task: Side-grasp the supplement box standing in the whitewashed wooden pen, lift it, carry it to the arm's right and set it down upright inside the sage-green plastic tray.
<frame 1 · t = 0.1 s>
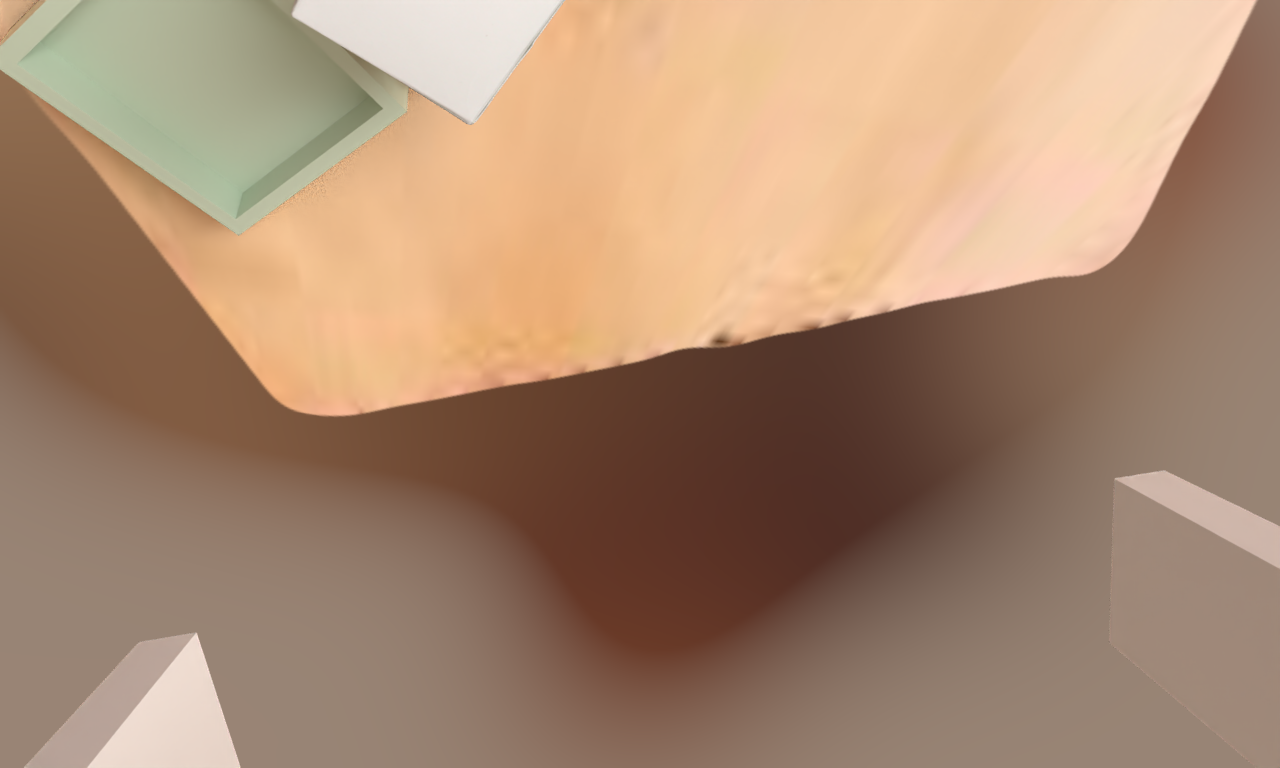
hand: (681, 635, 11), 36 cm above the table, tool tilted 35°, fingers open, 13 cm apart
green tray: (222, 56, 39), on the table
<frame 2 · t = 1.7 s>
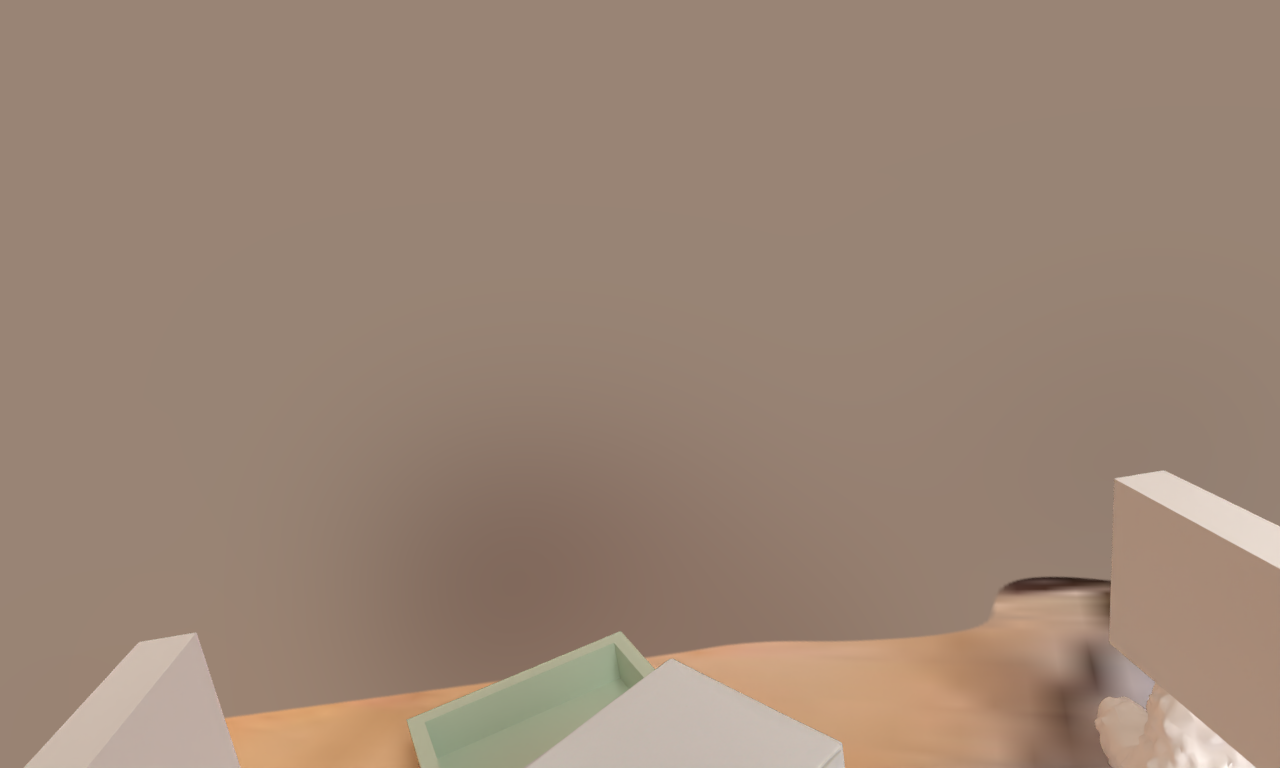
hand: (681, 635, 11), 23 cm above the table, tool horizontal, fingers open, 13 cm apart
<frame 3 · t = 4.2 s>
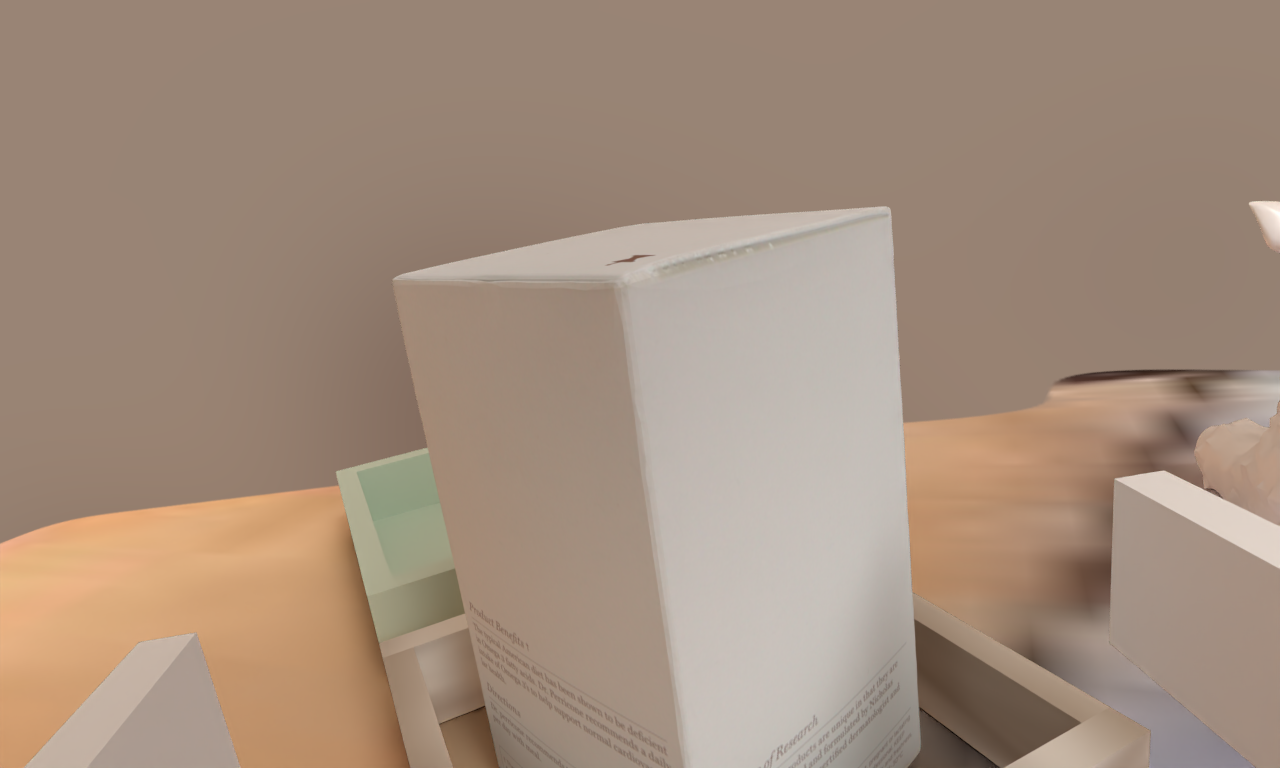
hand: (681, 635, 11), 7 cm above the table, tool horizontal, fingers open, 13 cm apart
green tray: (528, 543, 31), on the table
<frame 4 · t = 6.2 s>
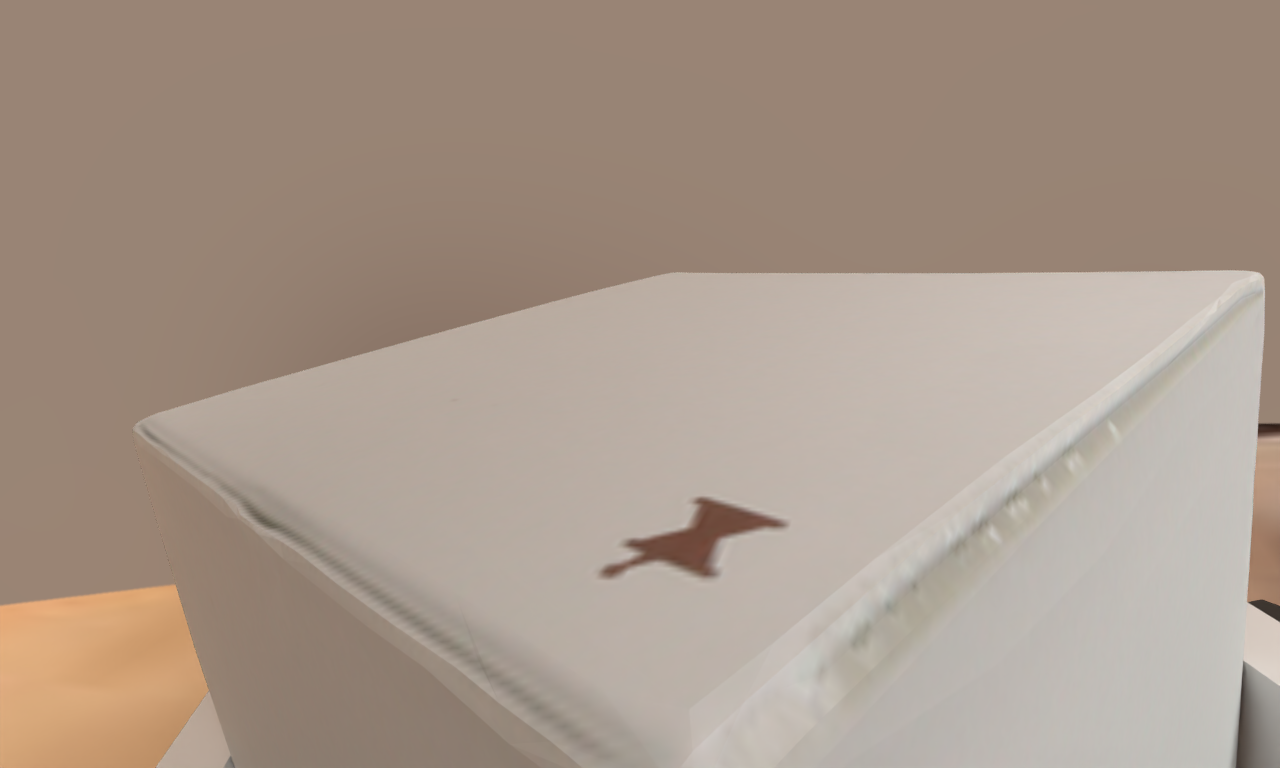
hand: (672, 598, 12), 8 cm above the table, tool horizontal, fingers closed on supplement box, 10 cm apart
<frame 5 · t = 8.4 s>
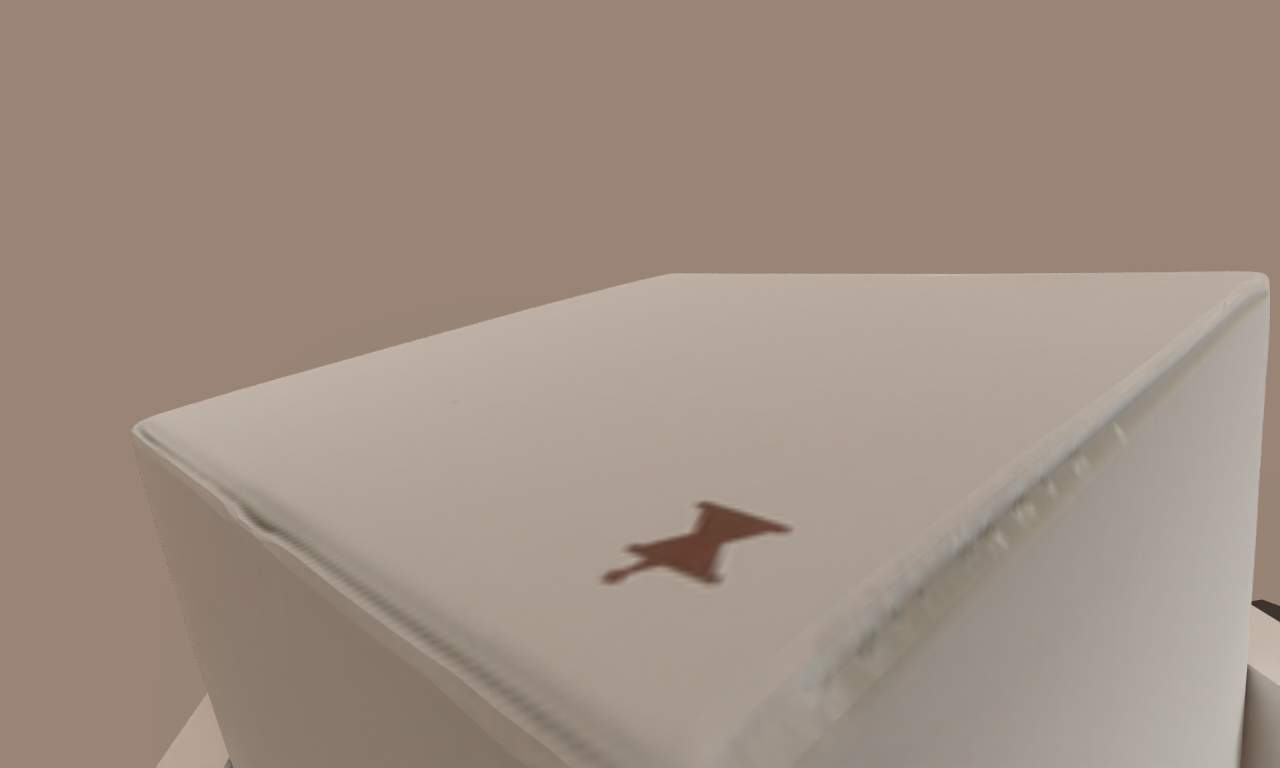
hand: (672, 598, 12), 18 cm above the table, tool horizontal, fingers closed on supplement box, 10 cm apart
when the fingers open (10 cm above the table, at t = 10.7 s): supplement box drops 1 cm, resting on green tray.
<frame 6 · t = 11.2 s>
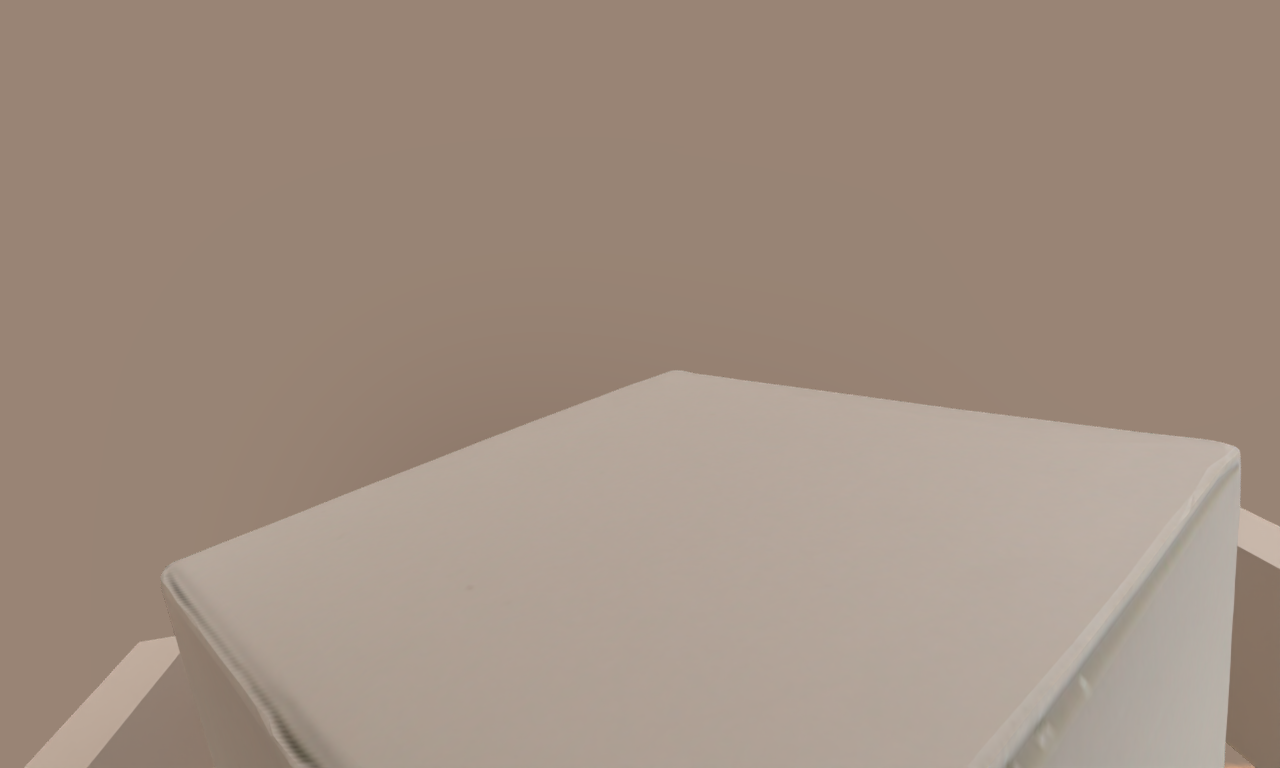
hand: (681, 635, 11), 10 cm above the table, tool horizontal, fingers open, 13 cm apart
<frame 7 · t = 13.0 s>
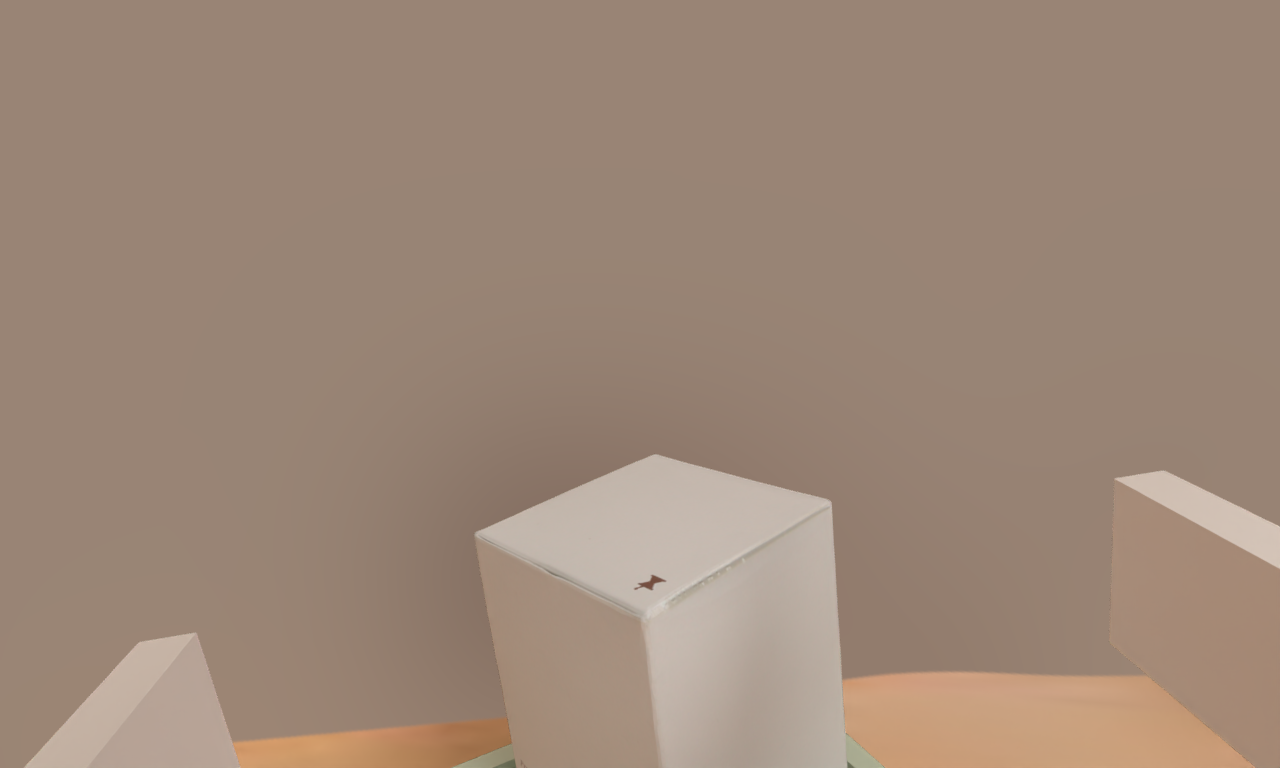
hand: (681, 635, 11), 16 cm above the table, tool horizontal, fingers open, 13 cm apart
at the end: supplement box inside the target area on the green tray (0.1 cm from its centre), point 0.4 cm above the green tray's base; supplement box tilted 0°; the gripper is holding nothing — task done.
